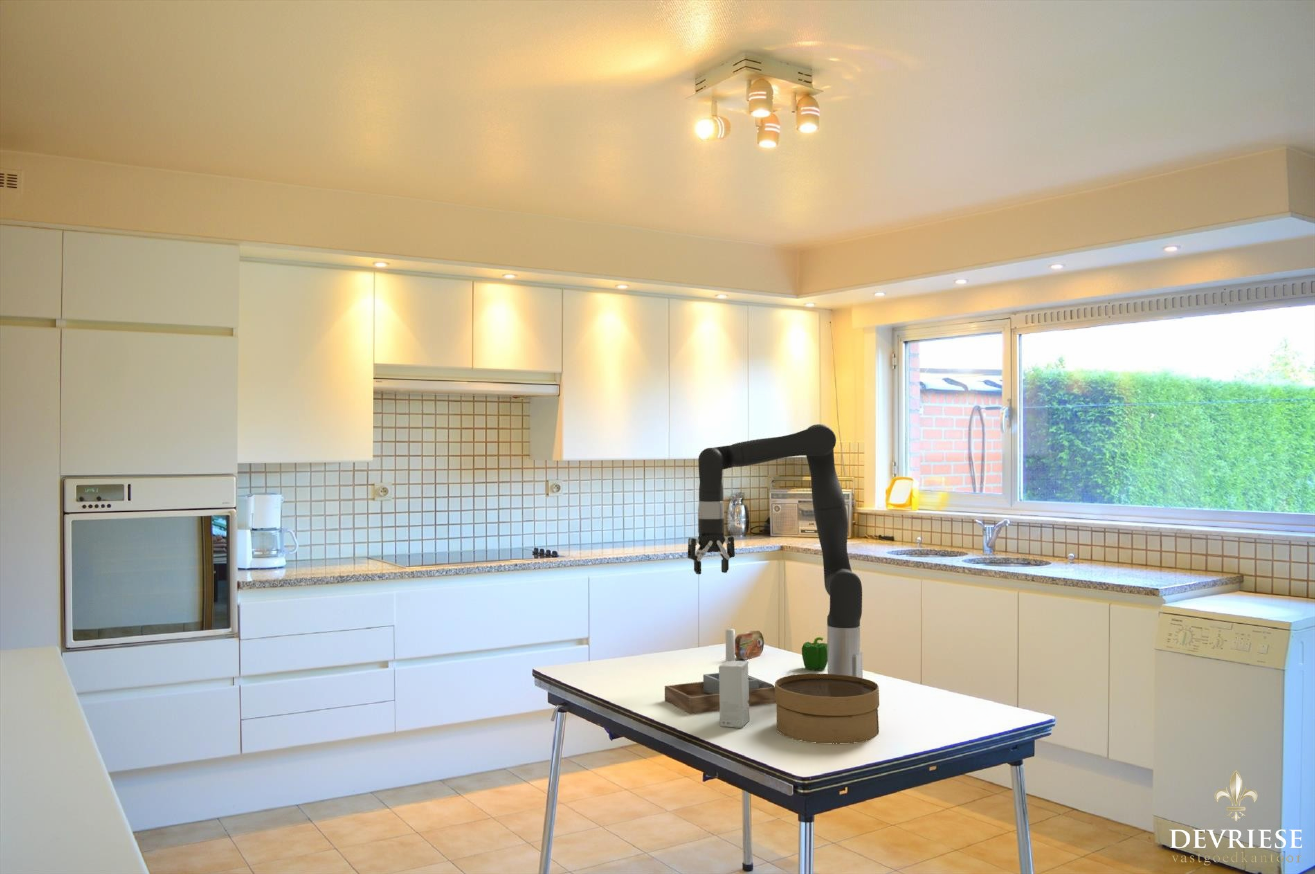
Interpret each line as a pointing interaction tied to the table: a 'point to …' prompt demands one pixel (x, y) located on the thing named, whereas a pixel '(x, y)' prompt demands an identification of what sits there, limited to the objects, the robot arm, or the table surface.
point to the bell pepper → (815, 655)
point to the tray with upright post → (713, 679)
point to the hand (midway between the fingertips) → (711, 573)
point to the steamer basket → (827, 708)
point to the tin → (749, 645)
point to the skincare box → (734, 694)
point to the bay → (712, 696)
